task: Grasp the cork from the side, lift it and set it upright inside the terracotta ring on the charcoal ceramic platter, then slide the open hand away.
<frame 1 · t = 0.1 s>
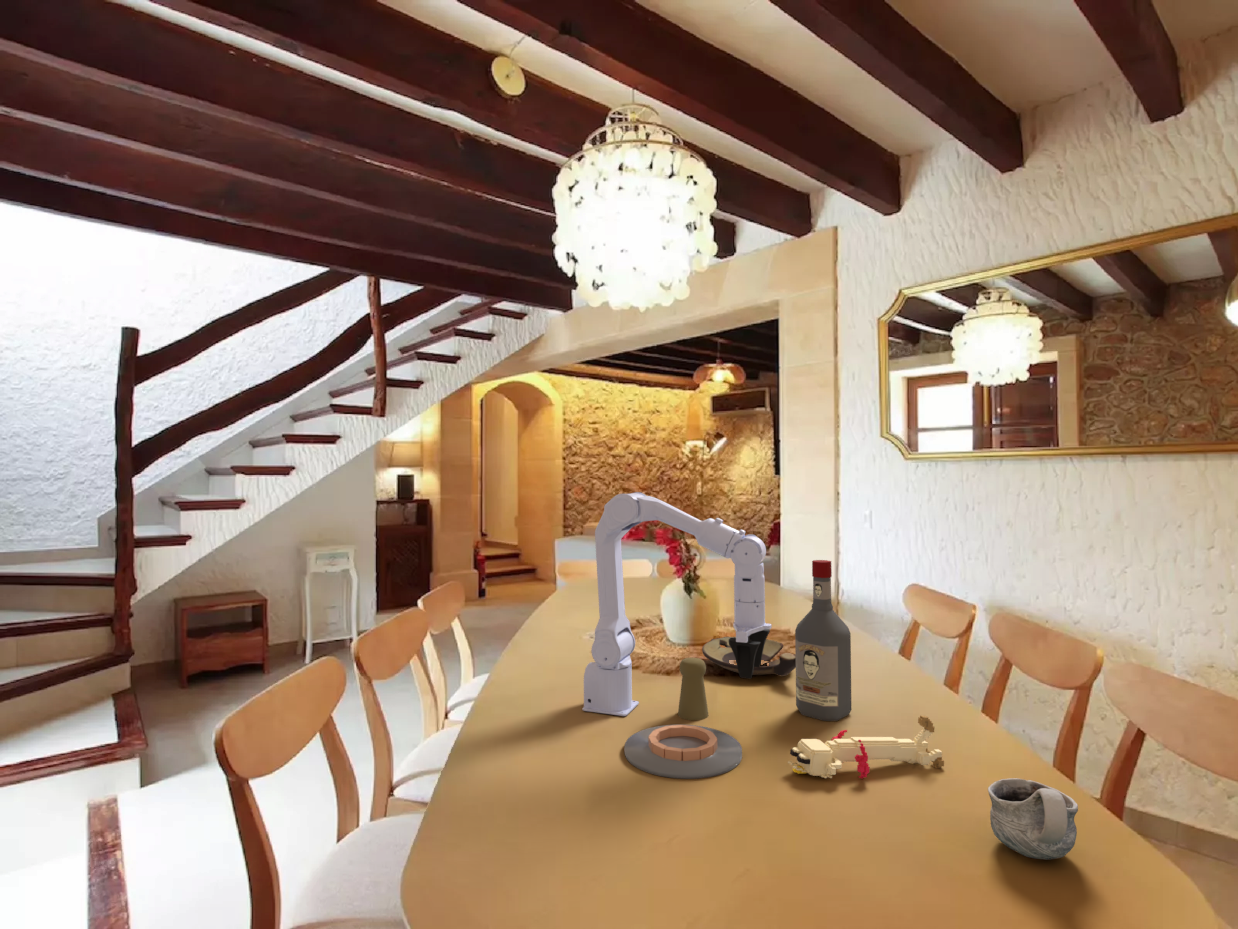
hand: (750, 672, 127), 10 cm above the table, tool pointing down, fingers open, 7 cm apart
oil lamp: (752, 673, 161), on the table
cream toy figure: (863, 770, 108), on the table
liquor: (823, 713, 134), on the table
ring platter: (682, 752, 115), on the table
mug: (1040, 859, 83), on the table
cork: (693, 715, 133), on the table
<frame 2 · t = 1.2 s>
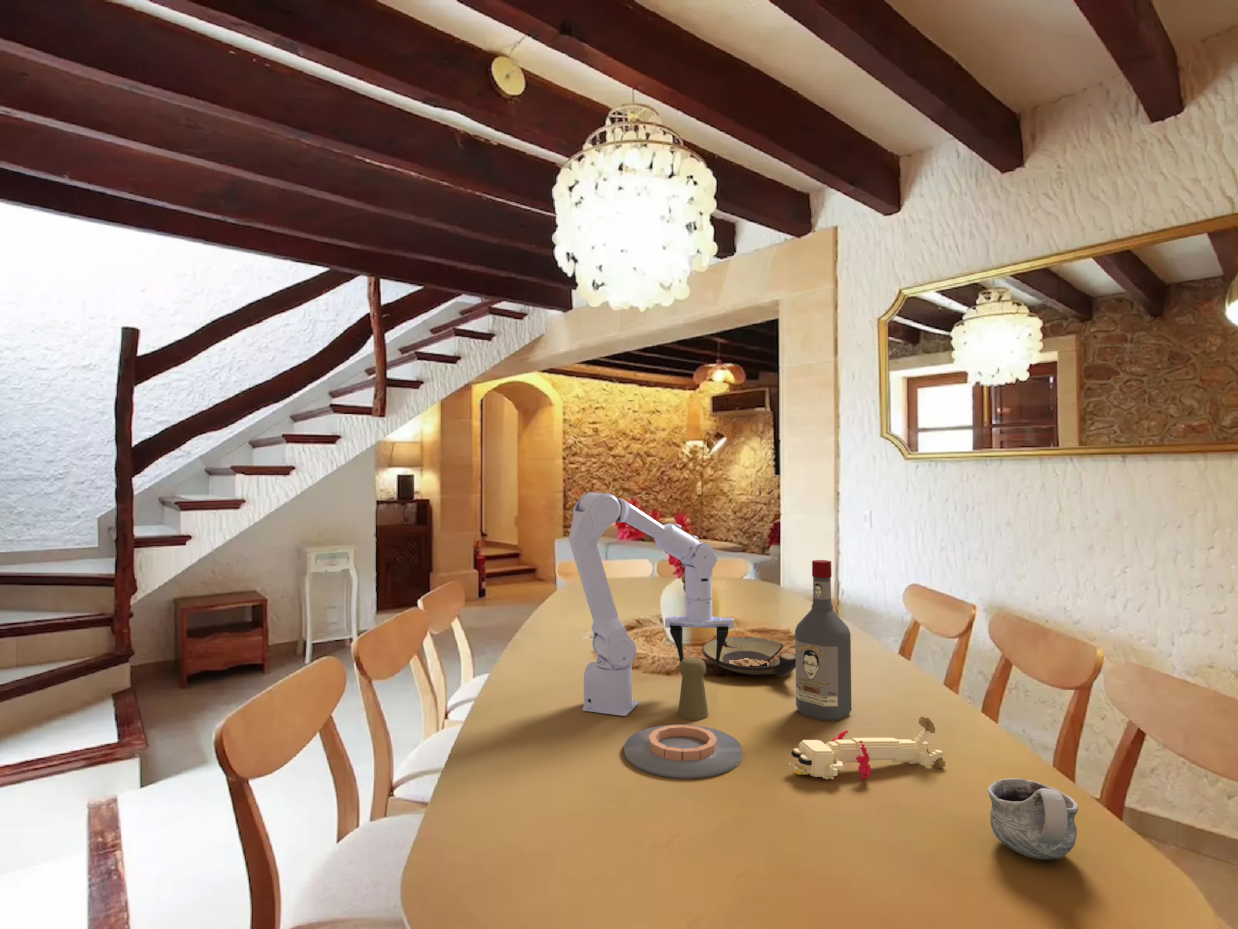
hand: (699, 661, 144), 7 cm above the table, tool pointing down, fingers open, 7 cm apart
nothing on the table moved.
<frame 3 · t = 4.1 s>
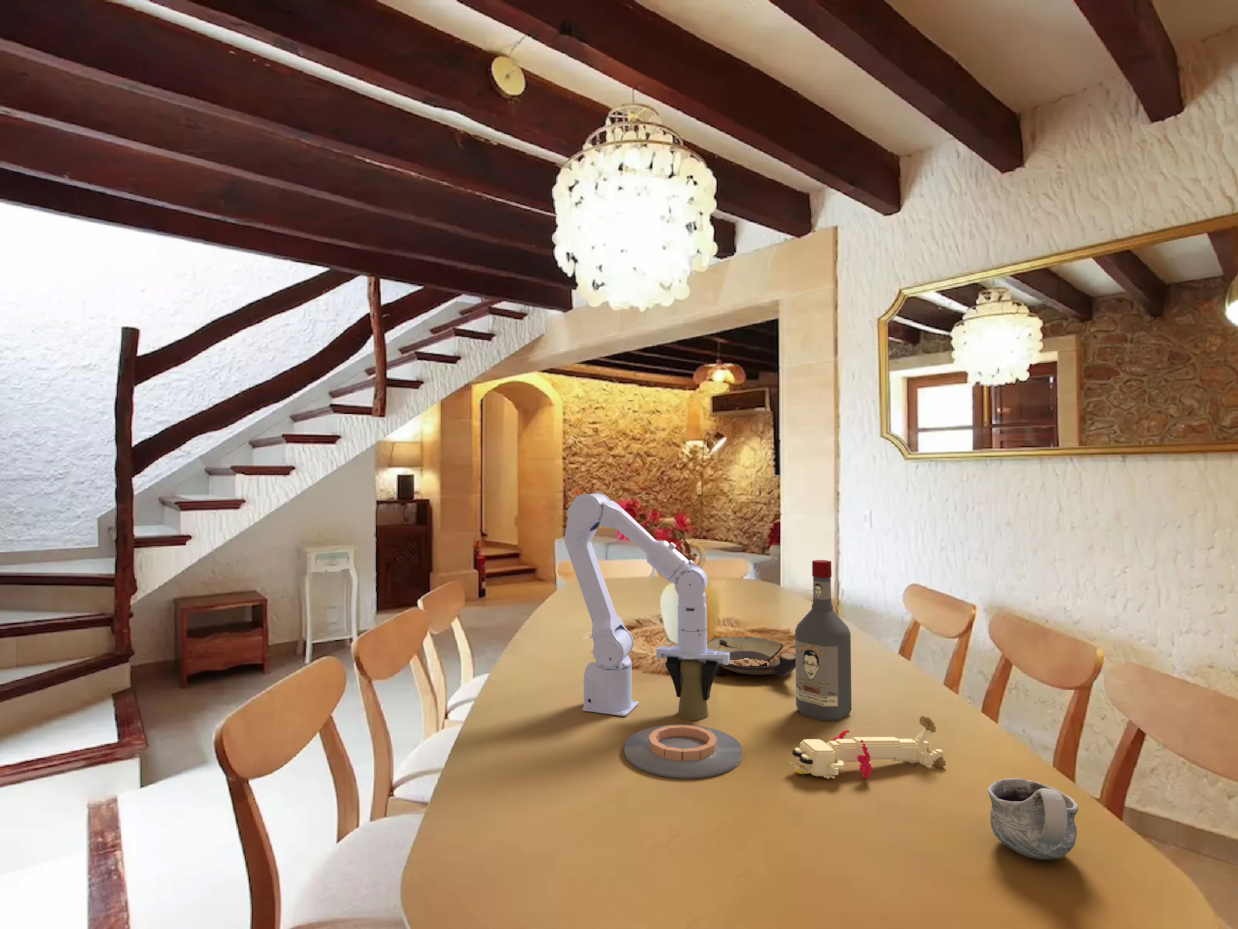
hand: (693, 697, 133), 3 cm above the table, tool pointing down, fingers closed on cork, 5 cm apart
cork: (693, 715, 133), on the table, touching gripper
everything else where it was.
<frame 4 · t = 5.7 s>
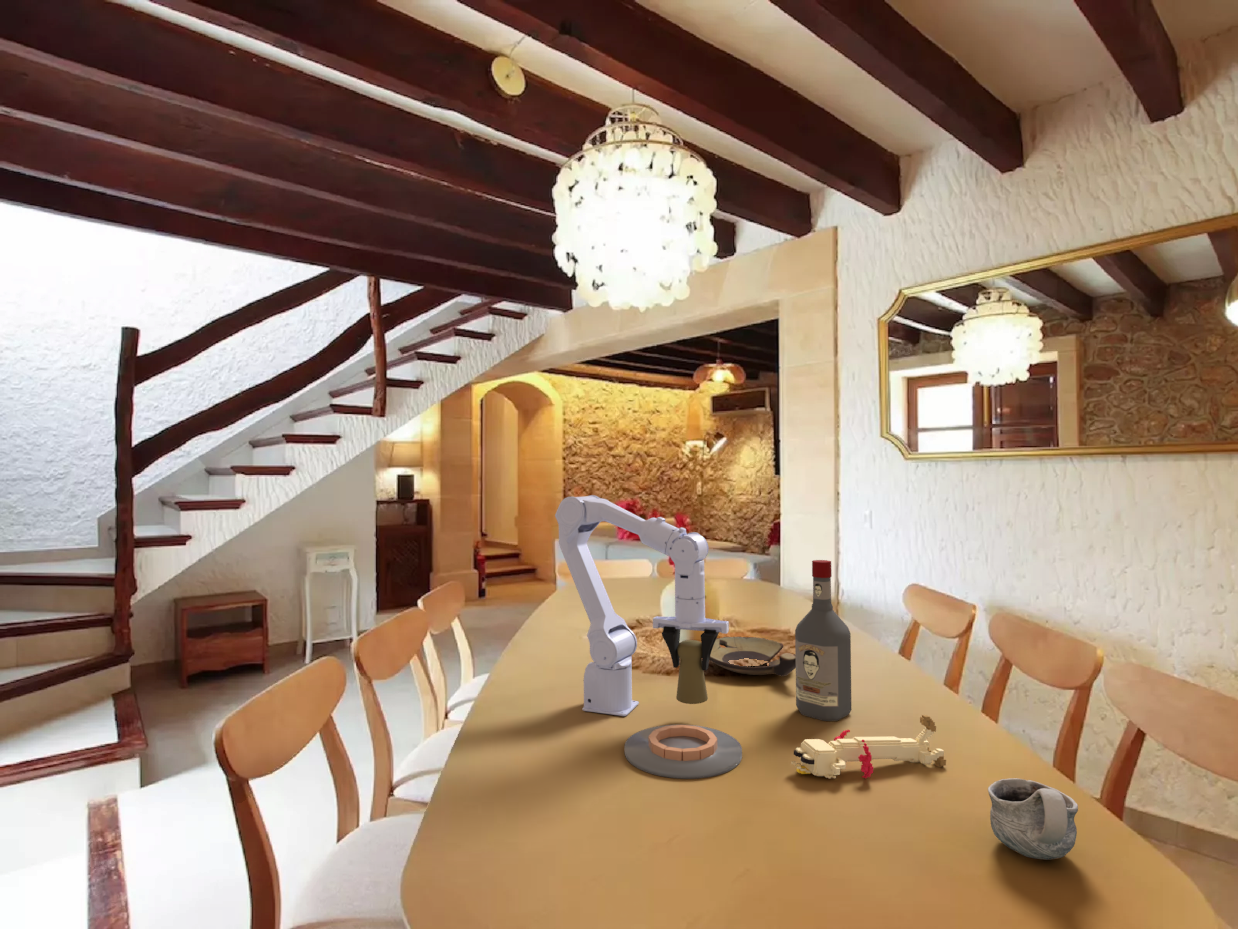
hand: (690, 667, 129), 10 cm above the table, tool pointing down, fingers closed on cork, 5 cm apart
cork: (692, 699, 129), point 4 cm above the table, touching gripper
everything else where it was.
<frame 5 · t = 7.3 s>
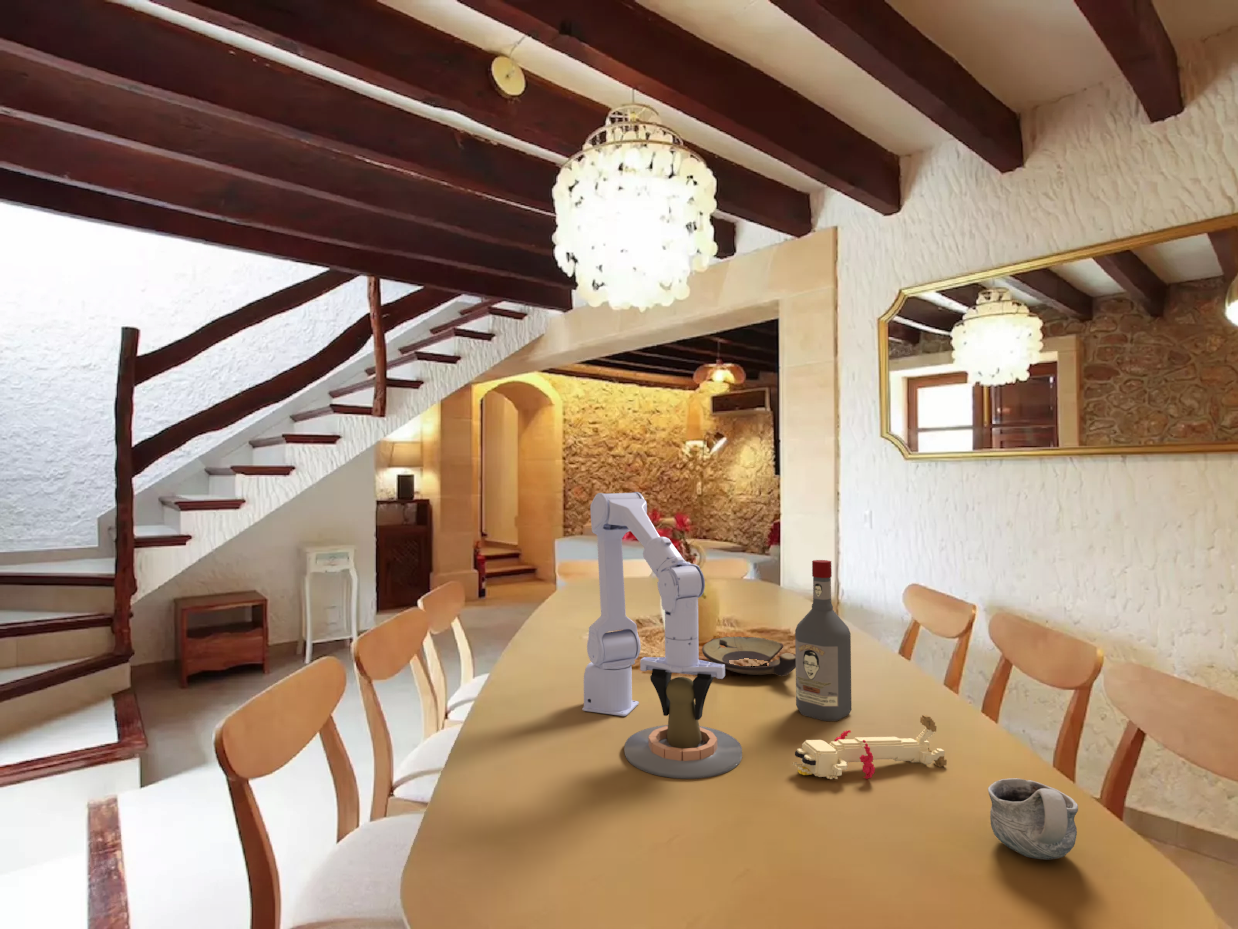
hand: (682, 715, 115), 6 cm above the table, tool pointing down, fingers closed on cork, 5 cm apart
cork: (684, 739, 117), point 2 cm above the table, touching gripper, ring platter
everything else where it was.
when the fingers open (6 cm above the table, at t = 7.9 s): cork stays where it is, resting on ring platter.
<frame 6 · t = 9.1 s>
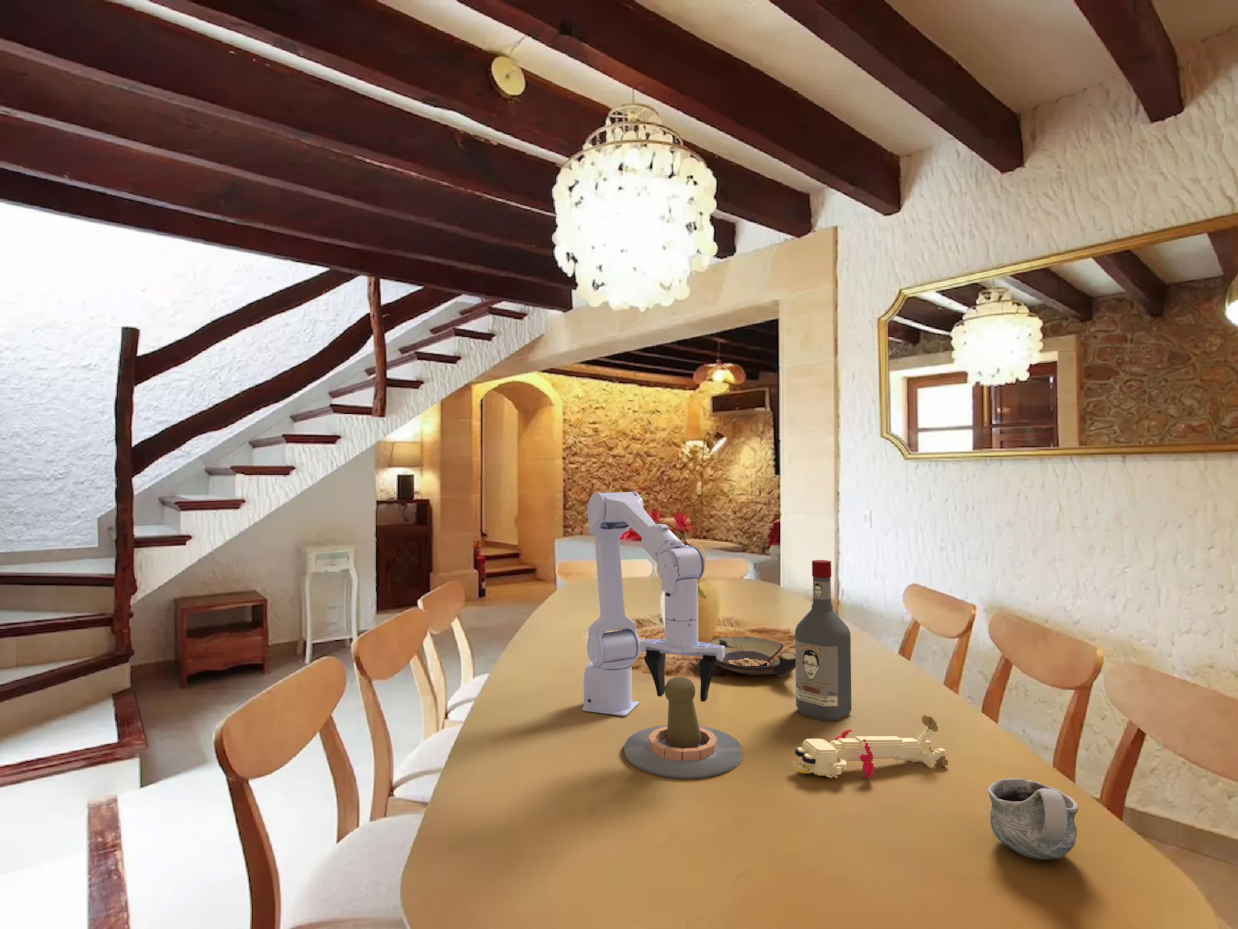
hand: (682, 697, 115), 9 cm above the table, tool pointing down, fingers open, 7 cm apart
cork: (684, 739, 117), point 2 cm above the table, touching ring platter
everything else where it was.
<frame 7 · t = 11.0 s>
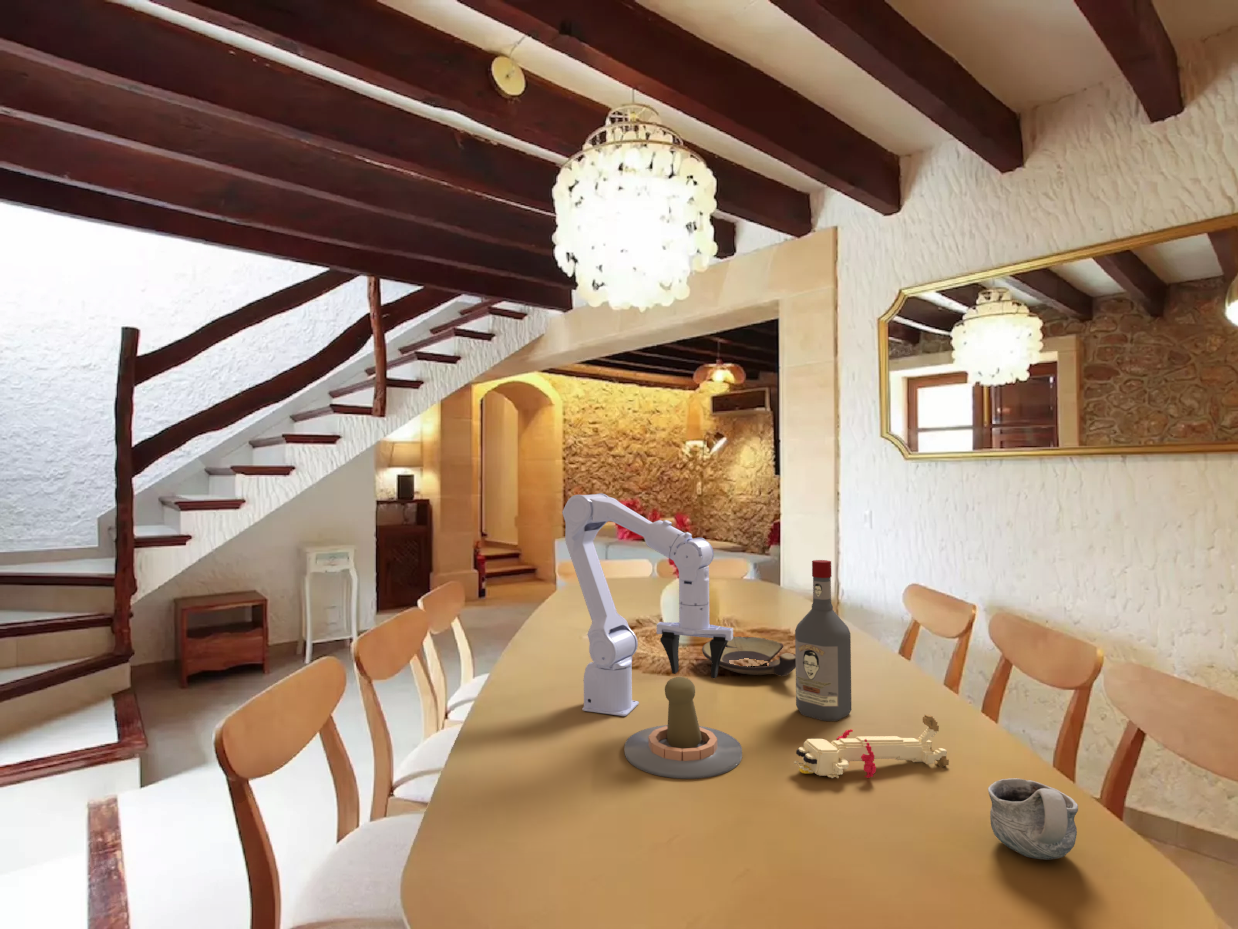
hand: (694, 674, 128), 10 cm above the table, tool pointing down, fingers open, 7 cm apart
nothing on the table moved.
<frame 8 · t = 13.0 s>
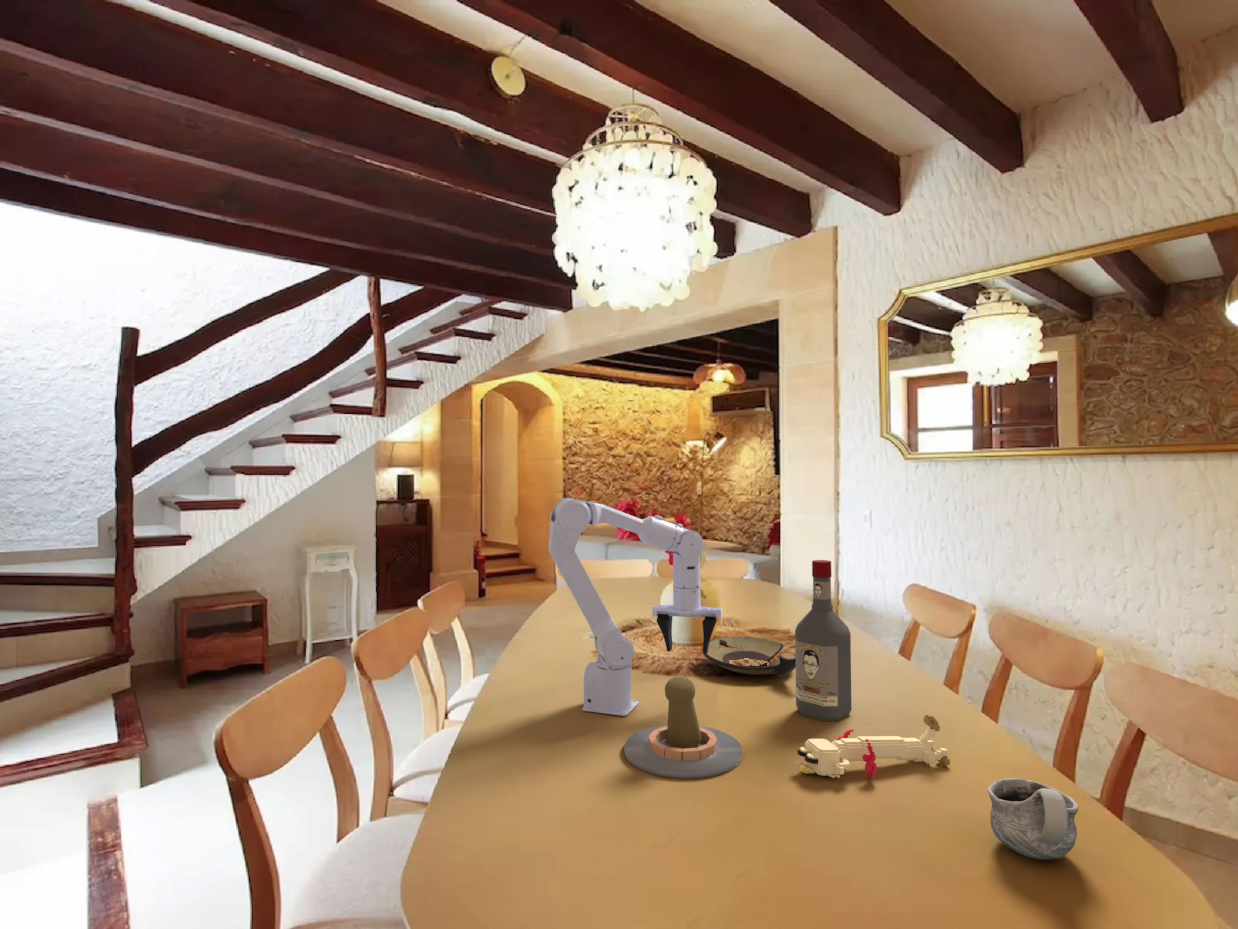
hand: (687, 651, 141), 10 cm above the table, tool pointing down, fingers open, 7 cm apart
at the end: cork 1.7 cm off-centre on the ring platter, point 1.6 cm above the ring platter's base; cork tilted 15°; the gripper is holding nothing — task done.
